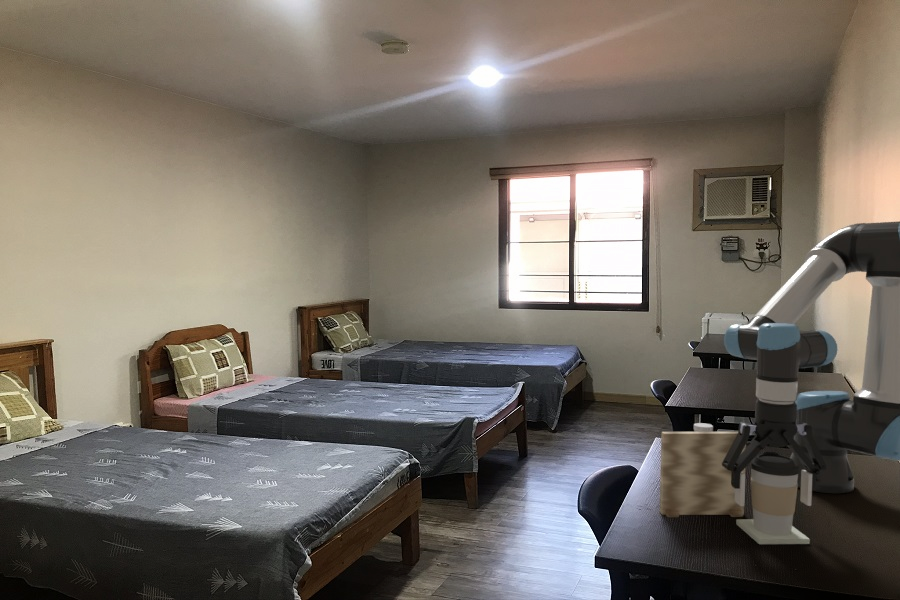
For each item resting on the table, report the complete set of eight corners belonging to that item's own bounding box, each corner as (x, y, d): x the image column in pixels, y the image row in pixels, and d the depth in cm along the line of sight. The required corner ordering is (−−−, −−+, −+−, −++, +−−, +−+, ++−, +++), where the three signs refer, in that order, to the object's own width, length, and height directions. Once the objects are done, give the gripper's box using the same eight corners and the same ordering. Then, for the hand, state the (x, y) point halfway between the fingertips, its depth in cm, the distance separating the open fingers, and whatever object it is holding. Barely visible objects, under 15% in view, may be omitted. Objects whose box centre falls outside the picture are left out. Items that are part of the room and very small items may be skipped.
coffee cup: (803, 540, 131) (806, 464, 130) (753, 536, 133) (756, 461, 132) (789, 522, 140) (792, 451, 139) (743, 518, 141) (745, 448, 141)
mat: (783, 523, 141) (783, 519, 141) (809, 543, 131) (809, 538, 131) (736, 524, 141) (736, 519, 141) (759, 544, 131) (759, 539, 131)
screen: (737, 509, 149) (740, 429, 148) (746, 516, 145) (749, 435, 144) (657, 509, 149) (659, 430, 148) (664, 517, 145) (666, 435, 144)
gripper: (826, 396, 139) (822, 496, 140) (707, 396, 138) (704, 497, 139) (848, 404, 131) (844, 510, 132) (722, 404, 131) (719, 510, 132)
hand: (772, 503), depth 136 cm, fingers open, 13 cm apart
